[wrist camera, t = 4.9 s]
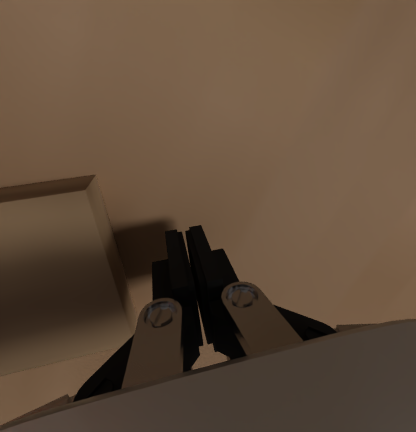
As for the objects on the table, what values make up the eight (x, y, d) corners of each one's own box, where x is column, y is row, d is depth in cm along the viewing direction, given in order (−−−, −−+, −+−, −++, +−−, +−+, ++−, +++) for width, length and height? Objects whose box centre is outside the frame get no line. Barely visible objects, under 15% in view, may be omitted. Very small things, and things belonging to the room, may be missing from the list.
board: (-114, 201, 10) (-189, 231, 8) (97, 171, 11) (85, 190, 9) (-17, 340, 13) (-49, 387, 11) (136, 306, 15) (134, 343, 12)
